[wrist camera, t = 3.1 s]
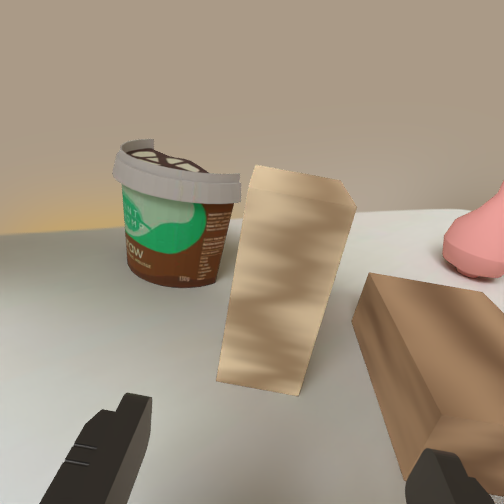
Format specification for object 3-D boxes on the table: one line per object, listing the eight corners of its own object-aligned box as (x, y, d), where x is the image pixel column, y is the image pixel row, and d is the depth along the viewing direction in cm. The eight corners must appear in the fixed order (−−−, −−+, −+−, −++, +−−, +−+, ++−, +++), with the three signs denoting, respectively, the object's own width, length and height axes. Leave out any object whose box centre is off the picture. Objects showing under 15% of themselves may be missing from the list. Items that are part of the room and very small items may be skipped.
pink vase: (478, 294, 38) (535, 185, 33) (419, 260, 44) (460, 162, 38) (516, 286, 41) (573, 186, 36) (458, 255, 47) (500, 166, 42)
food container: (87, 248, 33) (83, 136, 29) (145, 235, 37) (149, 137, 33) (166, 315, 26) (176, 182, 22) (226, 290, 30) (245, 175, 26)
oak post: (216, 381, 21) (248, 187, 16) (227, 329, 26) (255, 164, 21) (298, 396, 21) (356, 207, 16) (295, 341, 26) (340, 180, 21)
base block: (402, 484, 18) (441, 414, 16) (350, 324, 29) (368, 272, 27) (575, 511, 18) (638, 447, 16) (455, 342, 30) (482, 292, 28)
